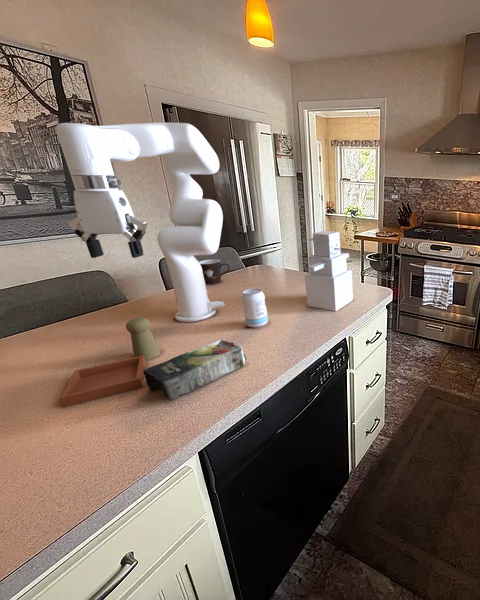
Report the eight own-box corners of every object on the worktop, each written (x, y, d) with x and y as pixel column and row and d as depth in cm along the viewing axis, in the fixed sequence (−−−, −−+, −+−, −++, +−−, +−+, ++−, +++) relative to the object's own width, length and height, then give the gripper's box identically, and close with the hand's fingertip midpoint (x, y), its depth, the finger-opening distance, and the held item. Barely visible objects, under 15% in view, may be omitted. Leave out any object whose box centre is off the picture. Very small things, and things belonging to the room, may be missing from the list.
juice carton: (228, 353, 92) (224, 333, 90) (250, 363, 88) (246, 343, 85) (148, 390, 76) (140, 368, 74) (169, 405, 72) (162, 382, 69)
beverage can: (254, 319, 114) (249, 287, 110) (272, 321, 113) (267, 288, 109) (242, 327, 108) (235, 294, 104) (260, 330, 107) (255, 295, 102)
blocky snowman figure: (298, 311, 122) (290, 236, 112) (333, 292, 142) (328, 227, 132) (327, 316, 117) (321, 239, 107) (359, 296, 138) (356, 229, 128)
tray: (145, 362, 87) (143, 355, 87) (142, 386, 78) (139, 378, 77) (78, 378, 80) (74, 370, 80) (64, 407, 71) (60, 397, 70)
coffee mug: (198, 284, 150) (193, 263, 146) (211, 279, 158) (207, 259, 154) (221, 286, 148) (217, 264, 145) (233, 280, 156) (229, 260, 152)
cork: (146, 362, 88) (135, 325, 84) (128, 359, 89) (116, 323, 85) (166, 351, 93) (156, 316, 89) (148, 348, 94) (137, 314, 90)
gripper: (145, 184, 79) (163, 253, 85) (70, 183, 78) (94, 253, 84) (122, 184, 72) (143, 260, 78) (40, 184, 71) (68, 260, 77)
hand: (118, 256), depth 81 cm, fingers open, 9 cm apart
